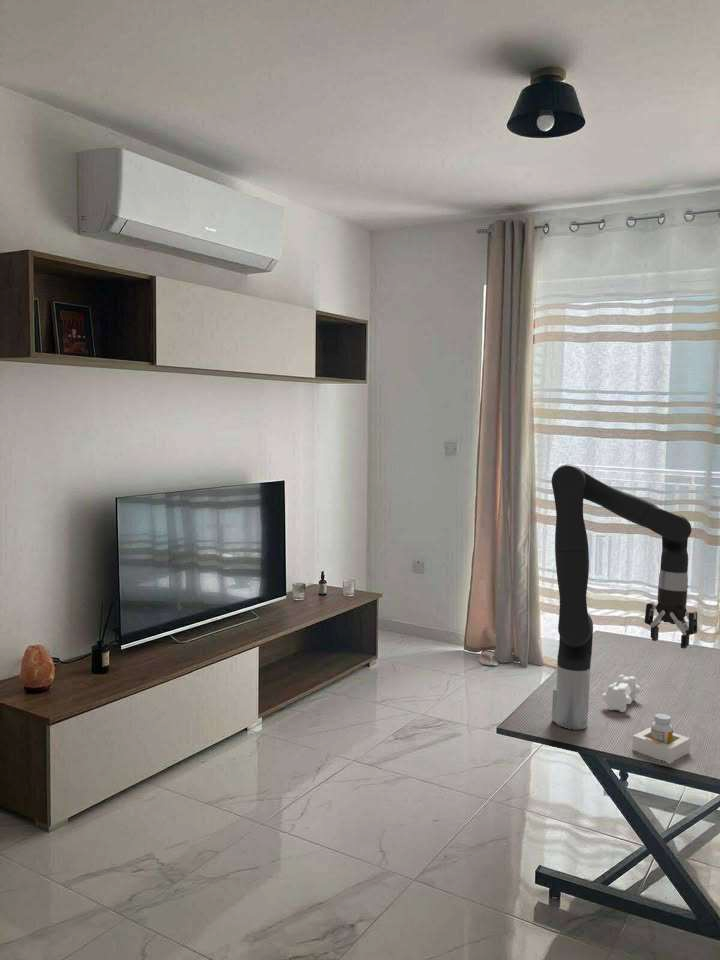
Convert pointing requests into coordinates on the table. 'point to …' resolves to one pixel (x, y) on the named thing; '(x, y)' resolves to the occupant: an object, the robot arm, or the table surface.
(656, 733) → the supplement bottle
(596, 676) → the table surface
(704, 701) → the table surface
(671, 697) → the table surface
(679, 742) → the socket block
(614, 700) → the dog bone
